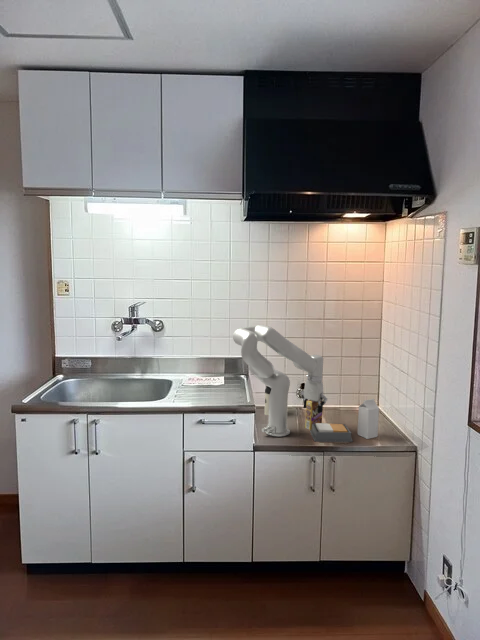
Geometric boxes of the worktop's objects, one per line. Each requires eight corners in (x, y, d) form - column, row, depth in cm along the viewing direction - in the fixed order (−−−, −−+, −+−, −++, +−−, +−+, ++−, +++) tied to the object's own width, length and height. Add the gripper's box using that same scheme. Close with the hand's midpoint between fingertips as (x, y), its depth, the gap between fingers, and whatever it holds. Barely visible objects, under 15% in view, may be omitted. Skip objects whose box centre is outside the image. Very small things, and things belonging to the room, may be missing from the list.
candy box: (310, 430, 252) (311, 402, 250) (304, 428, 256) (305, 400, 254) (322, 427, 258) (323, 399, 256) (316, 424, 261) (317, 397, 259)
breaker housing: (314, 441, 237) (314, 432, 236) (310, 432, 250) (310, 423, 249) (352, 441, 237) (353, 433, 237) (346, 432, 250) (346, 424, 250)
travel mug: (278, 413, 281) (279, 383, 278) (278, 417, 273) (278, 386, 271) (264, 412, 281) (265, 382, 279) (264, 416, 273) (264, 385, 271)
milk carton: (377, 437, 244) (379, 400, 242) (367, 439, 241) (369, 402, 239) (367, 432, 250) (369, 397, 248) (357, 434, 247) (358, 398, 245)
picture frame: (319, 432, 238) (319, 429, 238) (315, 425, 248) (315, 422, 248) (347, 433, 238) (347, 430, 238) (342, 427, 248) (342, 424, 248)
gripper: (297, 376, 257) (295, 407, 259) (323, 382, 245) (321, 415, 246) (306, 374, 262) (305, 405, 264) (332, 381, 250) (330, 413, 251)
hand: (312, 410), depth 255 cm, fingers open, 9 cm apart
